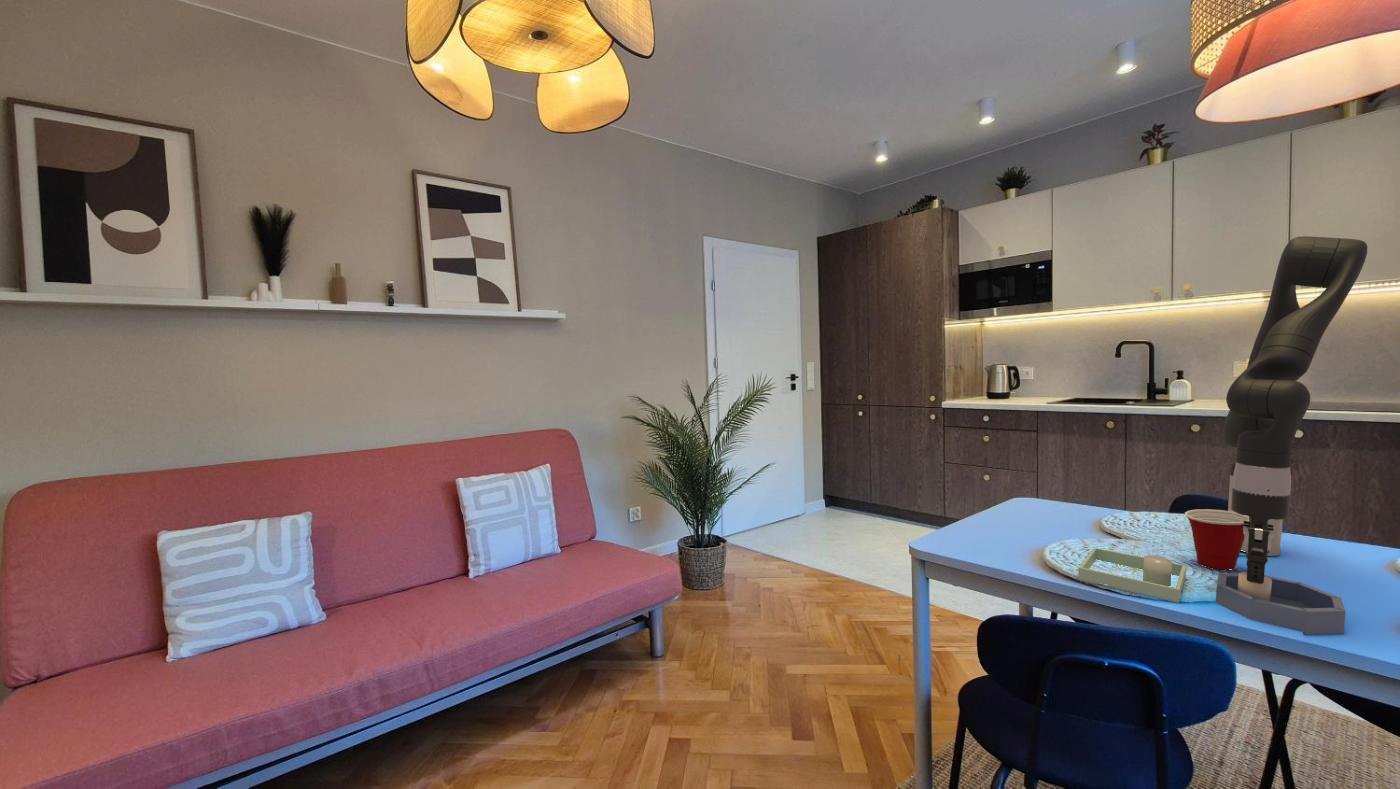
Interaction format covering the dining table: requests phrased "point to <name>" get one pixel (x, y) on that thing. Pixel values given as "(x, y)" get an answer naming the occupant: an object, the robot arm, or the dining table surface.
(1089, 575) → the tray
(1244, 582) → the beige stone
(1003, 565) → the dining table surface
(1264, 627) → the dining table surface
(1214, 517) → the plastic cup
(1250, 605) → the bowl
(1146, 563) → the beige rounded piece
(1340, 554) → the dining table surface
